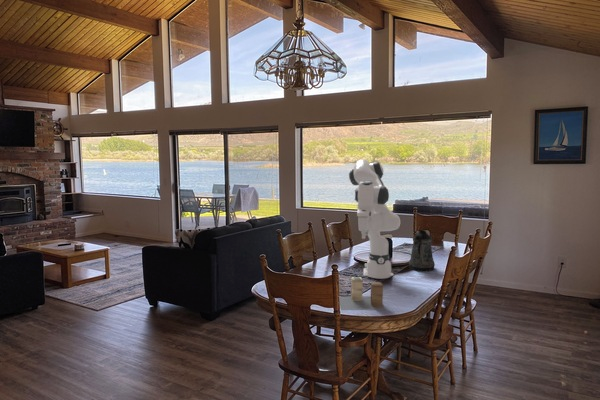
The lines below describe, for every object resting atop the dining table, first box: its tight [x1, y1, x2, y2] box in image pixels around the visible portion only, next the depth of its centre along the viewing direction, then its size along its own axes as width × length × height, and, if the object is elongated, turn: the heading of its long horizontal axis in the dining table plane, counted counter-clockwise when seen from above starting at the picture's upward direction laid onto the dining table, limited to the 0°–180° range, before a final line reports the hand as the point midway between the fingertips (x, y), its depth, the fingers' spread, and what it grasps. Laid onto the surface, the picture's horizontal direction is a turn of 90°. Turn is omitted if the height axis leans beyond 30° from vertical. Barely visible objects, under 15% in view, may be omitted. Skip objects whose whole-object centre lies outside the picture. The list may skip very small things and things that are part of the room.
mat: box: [339, 295, 387, 311], centre depth 222 cm, size 19×22×1 cm
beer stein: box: [408, 230, 435, 273], centre depth 286 cm, size 16×19×25 cm
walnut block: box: [370, 281, 384, 307], centre depth 218 cm, size 5×5×11 cm
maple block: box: [350, 276, 364, 301], centre depth 227 cm, size 5×5×11 cm
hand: (365, 237), depth 234 cm, fingers open, 8 cm apart
